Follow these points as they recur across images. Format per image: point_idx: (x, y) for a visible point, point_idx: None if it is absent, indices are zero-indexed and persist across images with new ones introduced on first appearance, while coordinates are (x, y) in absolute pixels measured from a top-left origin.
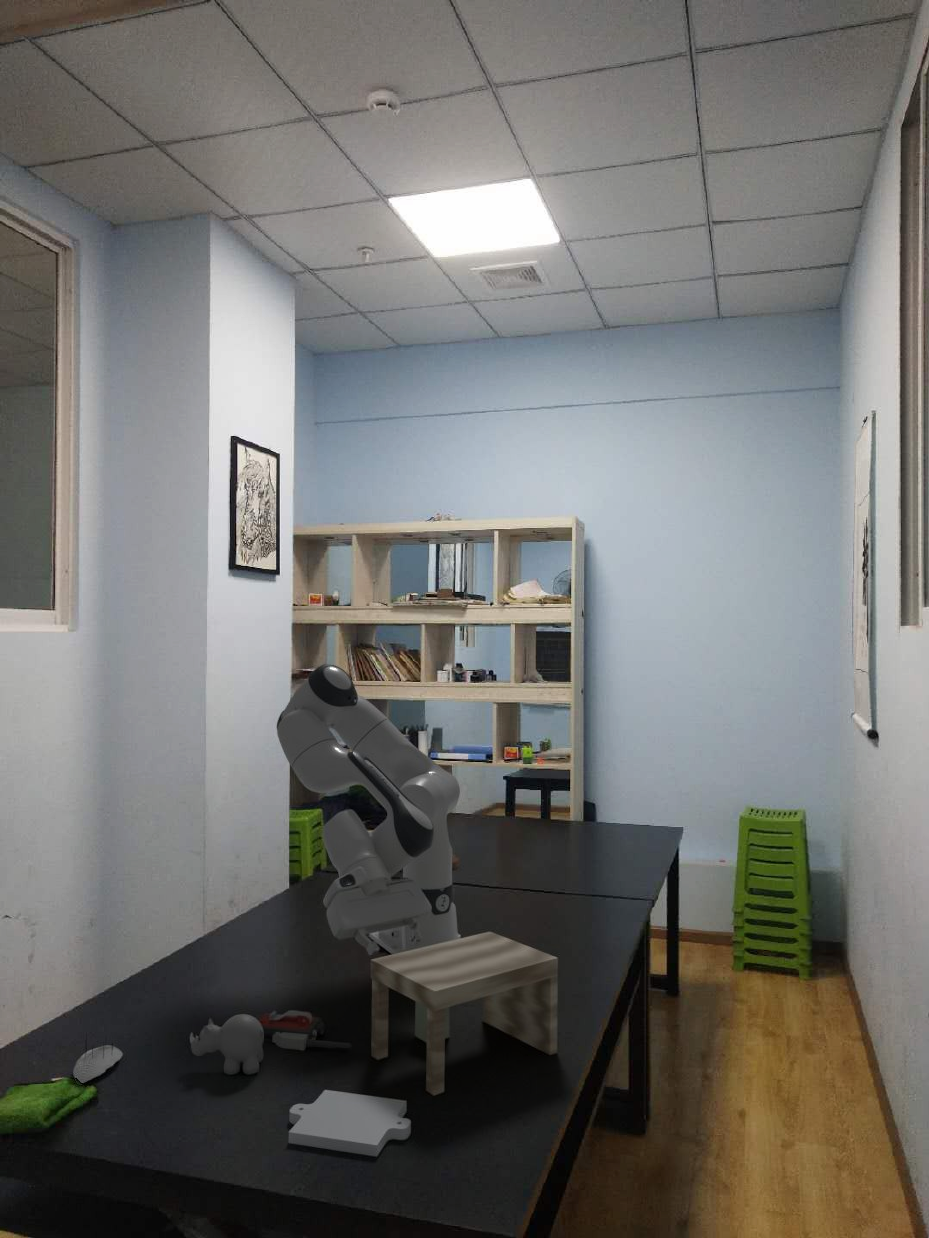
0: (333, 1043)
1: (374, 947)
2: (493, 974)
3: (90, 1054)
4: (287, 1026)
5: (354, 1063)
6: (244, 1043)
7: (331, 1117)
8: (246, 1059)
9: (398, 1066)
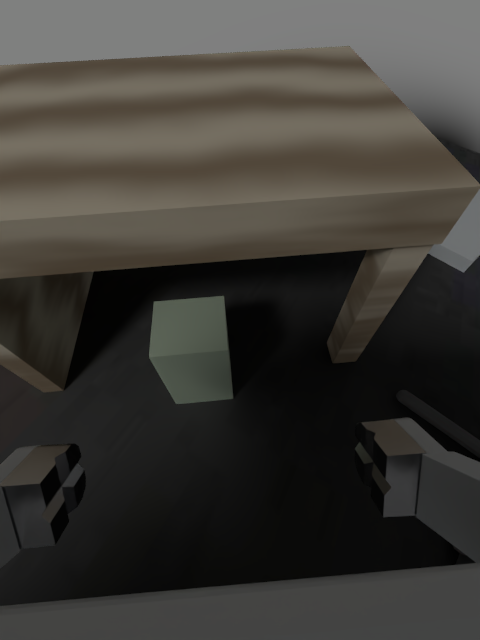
0: (440, 415)
1: (394, 425)
2: (186, 57)
3: None
4: None
5: (395, 349)
6: None
7: (466, 209)
8: None
9: (322, 305)
